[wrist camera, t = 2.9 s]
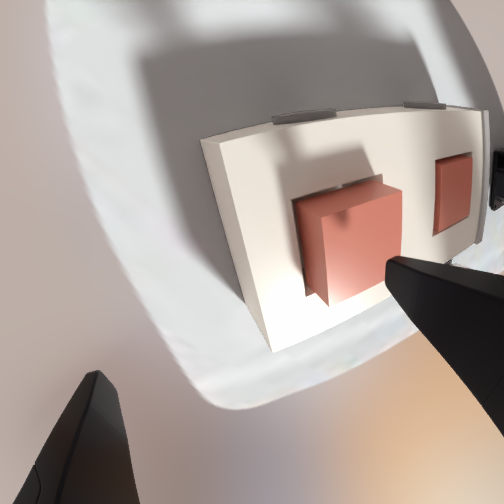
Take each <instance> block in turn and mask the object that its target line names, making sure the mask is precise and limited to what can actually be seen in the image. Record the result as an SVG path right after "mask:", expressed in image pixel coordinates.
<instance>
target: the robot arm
mask: <svg viewBox="0 0 504 504" xmlns="http://www.w3.org/2000/svg"><path fill="white" fill-rule="evenodd" d="M503 205H504V148H502V149H498V150H495V153H494V175H493V190H492V200H491V210H493V211H495V210H497V209H498V208H500V207H501V206H503ZM385 285H386V287H387V289H388V290H389V292H390V293H391V294H392V296H393V297H394V298H395V300H396V301H397V302H398V304H399V305H400V306H401V308H402V309H403V310H404V312H405V313H406V314H407V316H408V317H409V318H410V320H411V321H412V322H413V323H414V324H415V326H416V327H417V328H418V329H419V330H420V331H421V332H422V334H423V335H424V336H425V337H426V338H427V339H428V340H429V341H430V343H431V344H432V345H433V346H434V347H435V348H436V350H437V351H438V352H439V353H440V354H441V356H442V357H443V358H444V359H445V360H446V361H447V363H448V364H449V365H450V366H451V367H452V369H453V370H454V371H455V372H456V374H457V375H458V376H459V377H460V379H461V380H462V381H463V382H464V384H465V385H466V386H467V387H468V389H469V390H470V391H471V392H472V394H473V395H474V396H475V398H476V399H477V400H478V402H479V403H480V404H481V405H482V407H483V409H484V410H485V411H486V413H487V414H488V415H489V417H490V418H491V419H492V421H493V422H494V424H495V425H496V426H497V428H498V429H499V431H500V432H501V434H502V435H503V437H504V276H503V275H498V274H493V273H488V272H483V271H478V270H473V269H468V268H463V267H458V266H452V265H447V264H442V263H437V262H431V261H426V260H420V259H415V258H409V257H404V256H394V257H392V258H390V259H388V260H387V261H386V265H385ZM13 504H140V502H139V497H138V493H137V489H136V484H135V479H134V474H133V469H132V464H131V458H130V451H129V445H128V439H127V434H126V430H125V426H124V422H123V417H122V413H121V408H120V403H119V398H118V393H117V391H116V388H115V387H114V386H113V384H112V383H111V382H110V381H109V380H108V379H107V377H106V376H105V375H104V374H103V373H102V372H101V371H99V370H96V371H92V372H89V373H87V374H86V375H85V377H84V379H83V380H82V382H81V383H80V385H79V386H78V388H77V390H76V391H75V393H74V394H73V396H72V398H71V399H70V401H69V403H68V404H67V406H66V408H65V409H64V411H63V413H62V414H61V416H60V418H59V419H58V421H57V423H56V425H55V426H54V428H53V430H52V432H51V434H50V435H49V437H48V439H47V441H46V443H45V444H44V446H43V448H42V450H41V452H40V454H39V455H38V457H37V459H36V461H35V465H33V467H32V469H31V471H30V473H29V475H28V477H27V479H26V481H25V483H24V485H23V487H22V488H21V490H20V492H19V494H18V495H17V497H16V499H15V501H14V502H13Z"/></svg>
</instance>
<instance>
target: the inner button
mask: <svg viewBox="0 0 504 504" xmlns="http://www.w3.org/2000/svg"><path fill="white" fill-rule="evenodd" d="M472 167H473V158H472V157H469V156H465V155H461V154H458V155H454V156H449V157H445V158H441V159H437V160H435V207H434V223H433V229H434V230H436V231H438V232H439V231H441V230H443V229H445V228H447V227H449V226H450V225H452V224H454V223H456V222H458V221H459V220H461V219H463V218H465V217H467V216H468V215H469V214H470V204H471V191H472Z"/></svg>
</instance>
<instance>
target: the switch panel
mask: <svg viewBox="0 0 504 504" xmlns="http://www.w3.org/2000/svg"><path fill="white" fill-rule="evenodd" d="M272 121H273V122H270V123H265V124H261V125H256V126H252V127H247V128H243V129H239V130H234V131H230V132H226V133H223V134H219V135H215V136H211V137H208V138H204V139H201V140H200V142H201V146H202V150H203V154H204V157H205V161H206V165H207V169H208V172H209V176H210V180H211V184H212V187H213V191H214V195H215V198H216V202H217V206H218V209H219V213H220V216H221V220H222V224H223V227H224V231H225V234H226V238H227V241H228V245H229V249H230V252H231V256H232V259H233V263H234V266H235V270H236V273H237V276H238V280H239V283H240V287H241V290H242V294H243V297H244V300H245V304H246V306H247V308H248V310H249V312H250V313H251V315H252V317H253V319H254V321H255V323H256V324H257V326H258V328H259V330H260V332H261V333H262V335H263V337H264V339H265V341H266V342H267V344H268V346H269V348H270V350H271V351H272V353H274V352H277V351H279V350H281V349H284V348H286V347H288V346H291V345H293V344H295V343H298V342H300V341H302V340H304V339H307V338H309V337H311V336H313V335H315V334H317V333H320V332H322V331H324V330H326V329H328V328H330V327H332V326H334V325H336V324H338V323H340V322H342V321H344V320H346V319H348V318H350V317H352V316H354V315H356V314H358V313H360V312H362V311H364V310H366V309H368V308H370V307H371V306H373V305H375V304H377V303H379V302H381V301H382V300H384V299H386V298H388V297H390V296H391V295H392V294H391V293H390V292H389V290H388V289H387V287H386V285H385V280H384V281H382V282H381V283H379V284H377V285H375V286H373V287H371V288H369V289H367V290H365V291H363V292H361V293H359V294H357V295H355V296H353V297H351V298H349V299H347V300H344V301H342V302H340V303H338V304H336V305H334V306H332V307H330V308H329V307H328V306H327V305H326V304H325V303H324V302H323V301H322V300H321V299H320V297H319V296H318V295H317V294H316V293H315V292H314V291H313V290H312V289H311V288H310V287H309V286H308V285H307V282H306V274H305V267H304V259H303V252H302V245H301V238H300V232H299V225H298V219H297V212H296V206H295V202H297V201H301V200H304V199H307V198H311V197H314V196H317V195H320V194H324V193H327V192H330V191H334V190H337V189H341V188H344V187H347V186H351V185H354V184H358V183H361V182H365V181H368V180H374V181H377V182H380V183H383V184H385V185H388V186H391V187H394V188H397V189H400V190H402V240H401V256H404V257H409V258H415V259H420V260H426V261H431V262H437V263H442V264H444V263H446V262H447V261H449V260H450V259H452V258H453V257H455V256H456V255H458V254H459V253H461V252H462V251H464V250H465V249H466V248H468V247H469V246H471V245H472V244H473V243H475V244H479V243H480V242H481V241H482V237H483V231H484V224H485V217H486V209H487V200H488V188H489V171H490V129H489V112H488V110H482V109H475V108H468V107H461V106H452V105H446V104H443V103H432V102H403V106H395V107H379V108H366V109H356V110H346V111H338V112H336V109H318V110H308V111H301V112H294V113H288V114H283V115H278V116H274V117H272ZM458 154H461V155H465V156H469V157H472V158H473V167H472V191H471V204H470V214H469V215H468V216H467V217H465V218H463V219H461V220H459V221H458V222H456V223H454V224H452V225H450V226H449V227H447V228H445V229H443V230H441V231H439V232H438V231H436V230H434V229H433V223H434V207H435V160H437V159H441V158H445V157H449V156H454V155H458Z"/></svg>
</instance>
